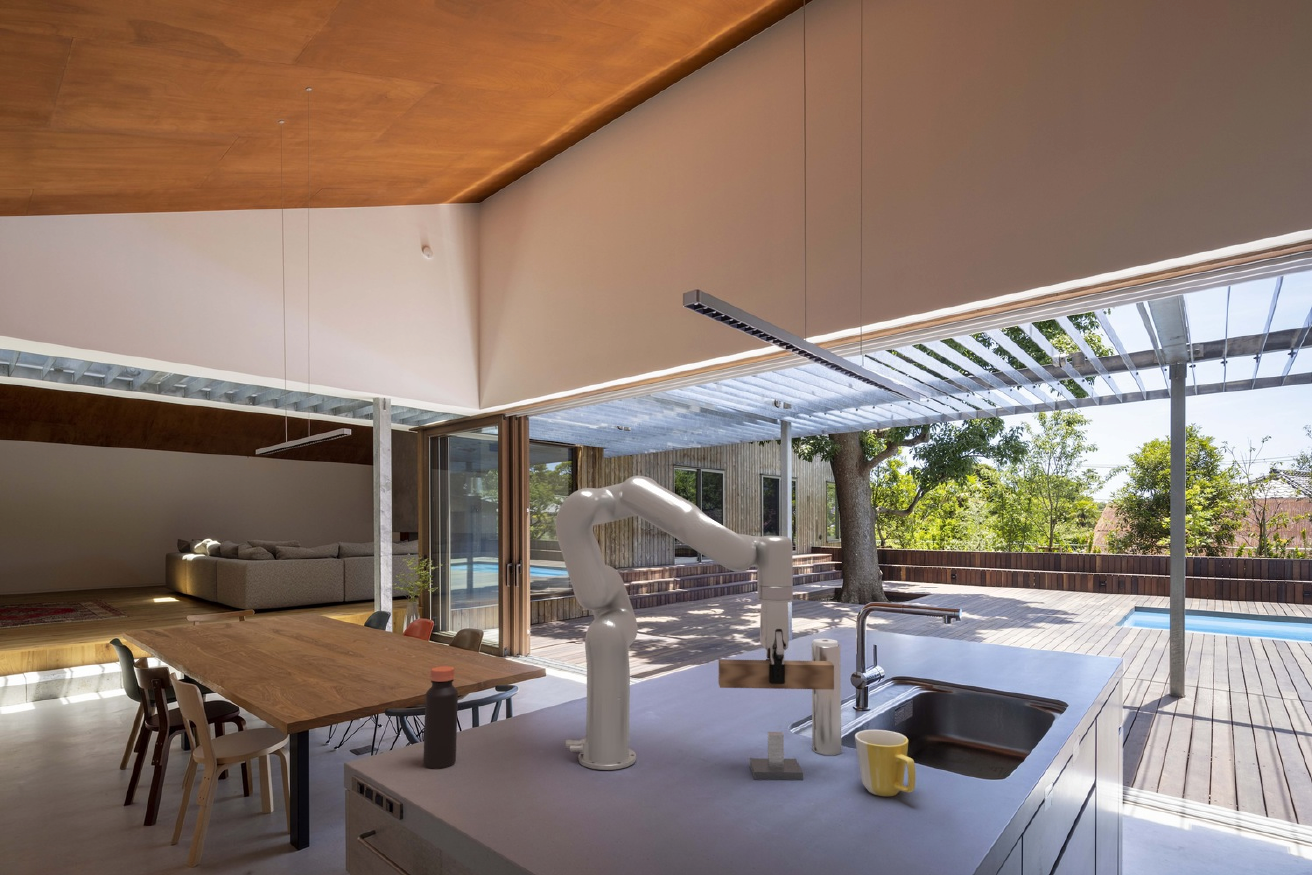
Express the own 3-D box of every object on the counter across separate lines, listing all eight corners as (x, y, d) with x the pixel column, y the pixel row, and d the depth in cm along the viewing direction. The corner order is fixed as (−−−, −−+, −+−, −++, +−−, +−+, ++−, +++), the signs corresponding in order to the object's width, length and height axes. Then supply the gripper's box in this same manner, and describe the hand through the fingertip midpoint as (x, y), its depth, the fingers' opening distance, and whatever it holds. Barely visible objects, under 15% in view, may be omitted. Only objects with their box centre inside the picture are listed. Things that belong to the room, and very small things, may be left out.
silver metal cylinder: (842, 756, 165) (840, 643, 168) (812, 754, 167) (811, 641, 169) (840, 747, 172) (839, 638, 174) (812, 745, 173) (811, 636, 175)
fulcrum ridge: (754, 779, 151) (754, 739, 152) (749, 765, 159) (749, 727, 160) (803, 779, 151) (802, 739, 152) (795, 765, 159) (795, 727, 160)
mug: (846, 783, 150) (846, 730, 151) (892, 779, 152) (891, 727, 153) (879, 811, 137) (879, 752, 138) (929, 807, 139) (928, 749, 140)
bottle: (416, 765, 157) (419, 670, 159) (439, 756, 163) (442, 663, 165) (439, 771, 154) (443, 673, 156) (462, 761, 160) (465, 667, 162)
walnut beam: (720, 687, 155) (720, 663, 155) (718, 682, 159) (718, 659, 159) (834, 689, 155) (834, 665, 155) (829, 684, 159) (829, 661, 159)
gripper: (752, 588, 167) (752, 671, 165) (763, 598, 150) (763, 690, 149) (785, 589, 167) (786, 671, 165) (799, 599, 150) (800, 691, 149)
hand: (775, 679), depth 157 cm, fingers closed on walnut beam, 4 cm apart
